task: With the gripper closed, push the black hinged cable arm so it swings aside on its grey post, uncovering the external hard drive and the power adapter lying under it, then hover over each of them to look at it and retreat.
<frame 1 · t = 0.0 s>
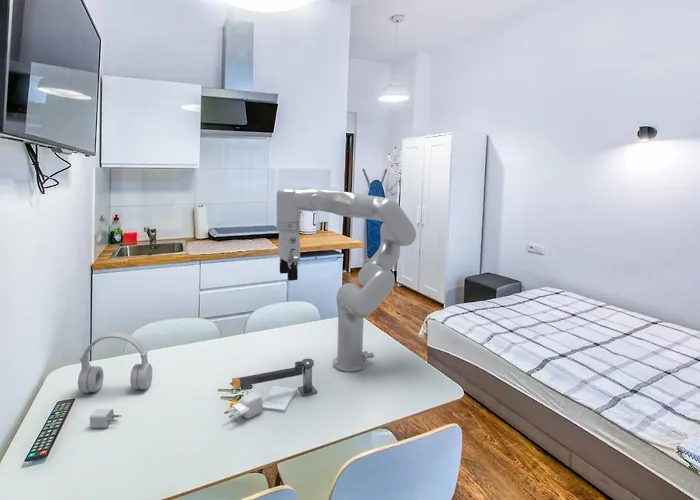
hand: (288, 276, 137), 37 cm above the table, tool pointing down, fingers open, 9 cm apart
usb wall charger: (107, 425, 115), on the table
external hard drive: (278, 402, 130), on the table
power adapter: (244, 418, 120), on the table
headphones: (117, 390, 133), on the table
cable arm: (274, 373, 128), point 9 cm above the table, hinge at 0.0°
post: (307, 391, 135), on the table
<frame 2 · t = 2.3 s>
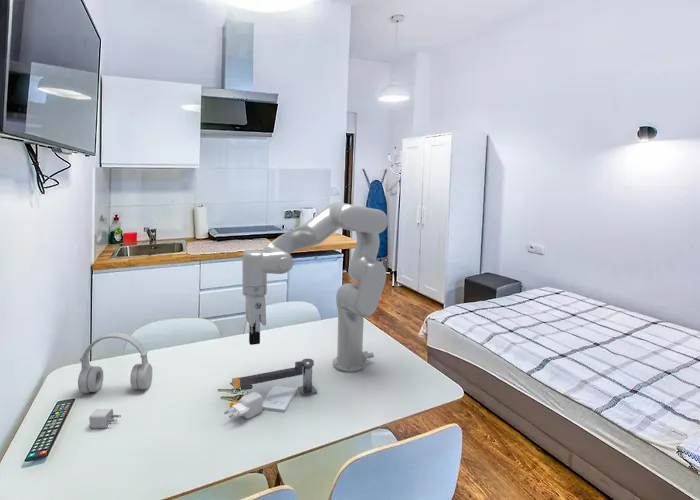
hand: (254, 343, 132), 16 cm above the table, tool pointing down, fingers closed
nothing on the table moved.
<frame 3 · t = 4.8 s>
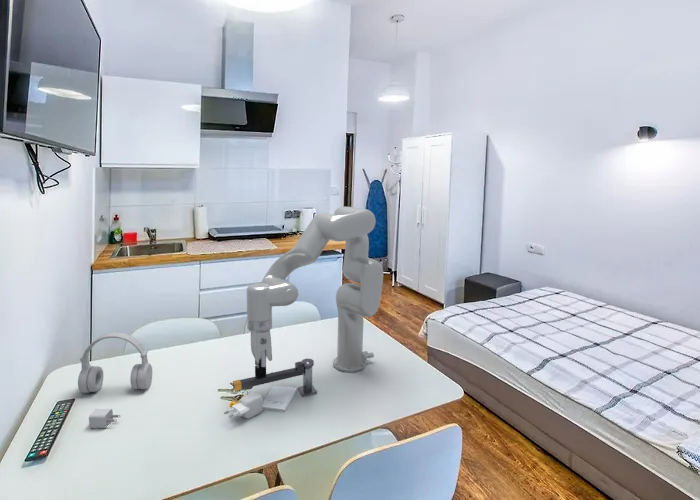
hand: (260, 377, 129), 7 cm above the table, tool pointing down, fingers closed
cable arm: (275, 374, 128), point 9 cm above the table, hinge at 4.0°, touching gripper
everything else where it was.
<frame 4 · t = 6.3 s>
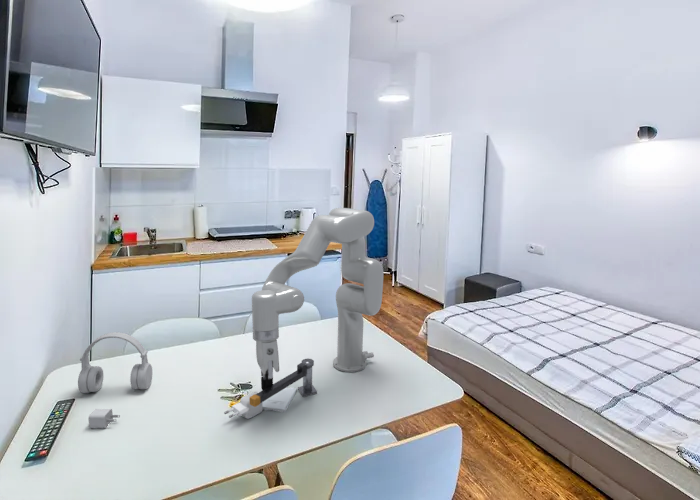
hand: (267, 389, 123), 7 cm above the table, tool pointing down, fingers closed
cable arm: (284, 380, 124), point 9 cm above the table, hinge at 30.9°, touching gripper
everything else where it was.
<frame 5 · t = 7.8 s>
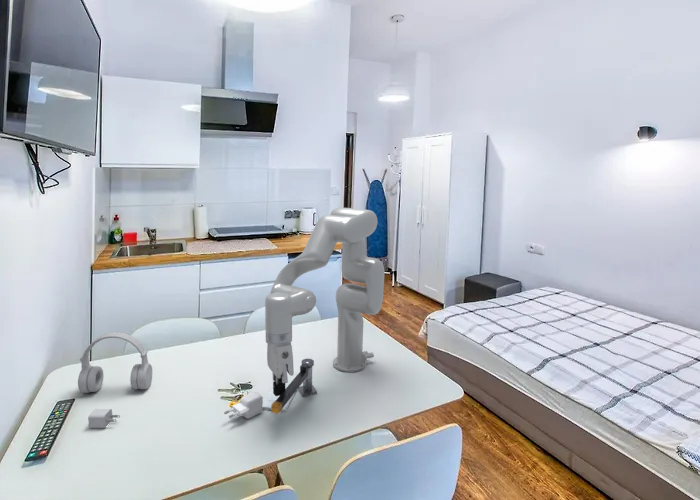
hand: (279, 393, 120), 7 cm above the table, tool pointing down, fingers closed
cable arm: (294, 383, 123), point 9 cm above the table, hinge at 49.3°, touching gripper
everything else where it was.
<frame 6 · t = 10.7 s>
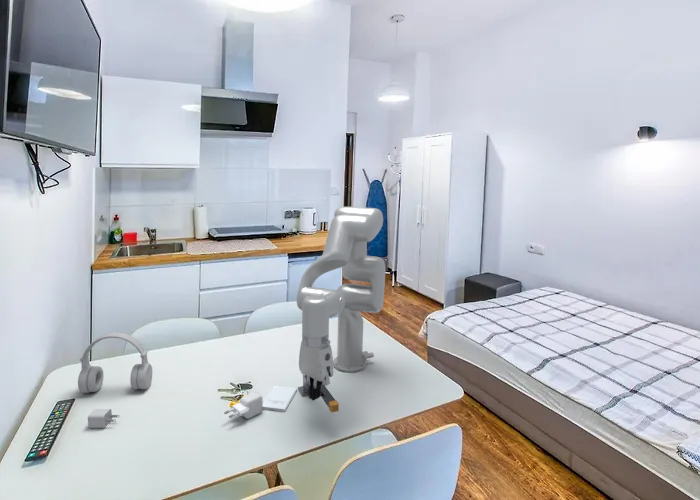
hand: (314, 397, 118), 7 cm above the table, tool pointing down, fingers closed
cable arm: (319, 382, 123), point 9 cm above the table, hinge at 89.2°, touching gripper
everything else where it was.
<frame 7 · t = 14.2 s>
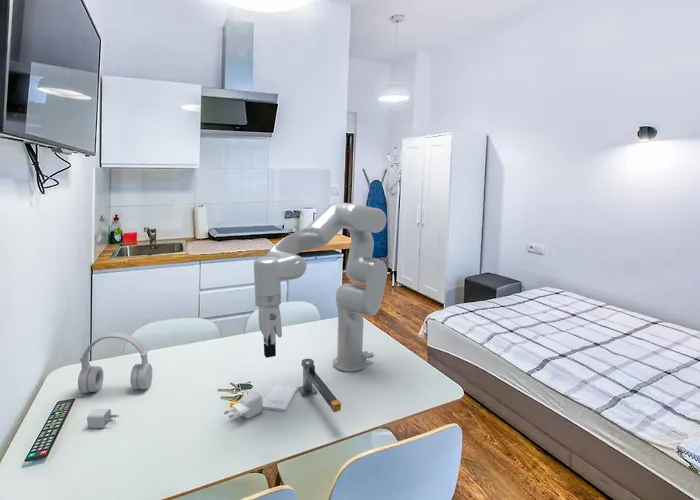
hand: (270, 355, 124), 16 cm above the table, tool pointing down, fingers closed
cable arm: (319, 382, 123), point 9 cm above the table, hinge at 90.8°
everything else where it was.
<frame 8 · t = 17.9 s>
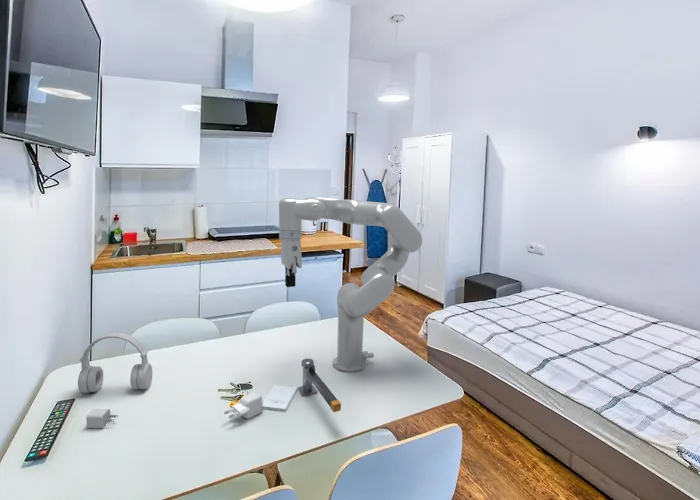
hand: (290, 286, 142), 32 cm above the table, tool pointing down, fingers closed
nothing on the table moved.
at the end: cable arm at +91° (first picture: +0°); external hard drive moved 1.1 cm from its start; power adapter moved 0.0 cm from its start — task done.
